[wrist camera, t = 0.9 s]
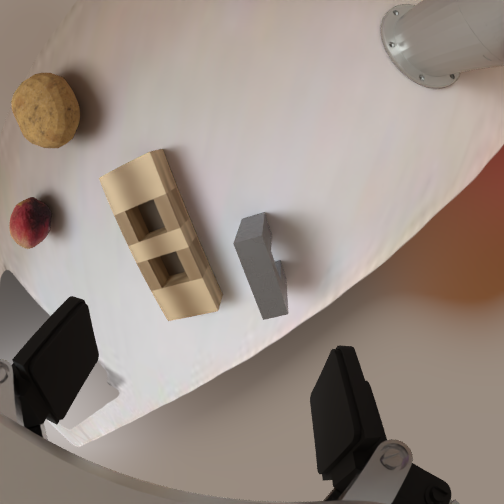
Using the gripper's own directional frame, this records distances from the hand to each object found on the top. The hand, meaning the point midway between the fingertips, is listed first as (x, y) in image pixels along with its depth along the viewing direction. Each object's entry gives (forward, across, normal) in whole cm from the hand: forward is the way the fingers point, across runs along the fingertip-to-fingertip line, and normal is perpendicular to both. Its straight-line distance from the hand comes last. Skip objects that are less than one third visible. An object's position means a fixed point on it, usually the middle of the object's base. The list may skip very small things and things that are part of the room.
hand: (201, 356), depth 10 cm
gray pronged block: (+27, -3, +7) cm, 28 cm away
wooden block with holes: (+28, +10, +7) cm, 30 cm away
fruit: (+28, +34, +7) cm, 45 cm away
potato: (+28, +29, -10) cm, 41 cm away
